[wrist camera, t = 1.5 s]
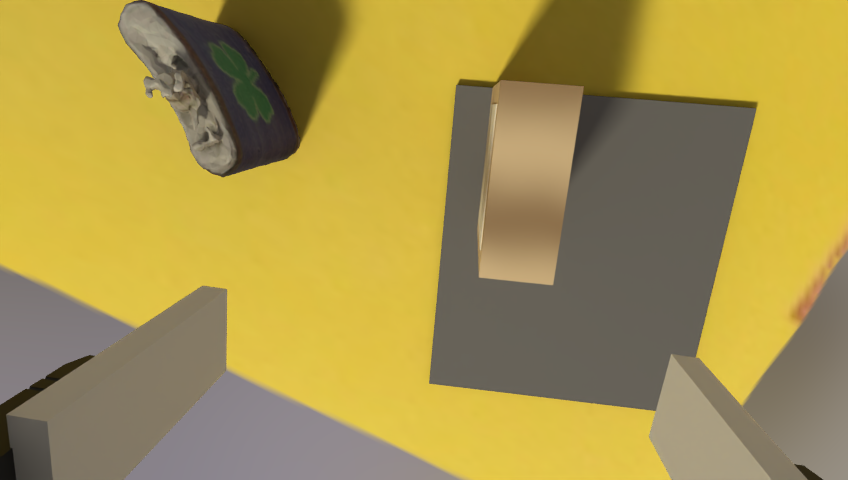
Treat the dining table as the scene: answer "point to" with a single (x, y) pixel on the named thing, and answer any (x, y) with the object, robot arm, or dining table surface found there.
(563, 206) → the oak tile
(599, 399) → the mat
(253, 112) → the flask
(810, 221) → the dining table surface
